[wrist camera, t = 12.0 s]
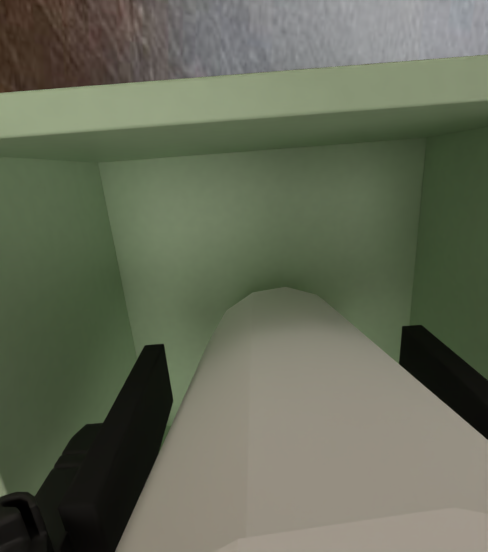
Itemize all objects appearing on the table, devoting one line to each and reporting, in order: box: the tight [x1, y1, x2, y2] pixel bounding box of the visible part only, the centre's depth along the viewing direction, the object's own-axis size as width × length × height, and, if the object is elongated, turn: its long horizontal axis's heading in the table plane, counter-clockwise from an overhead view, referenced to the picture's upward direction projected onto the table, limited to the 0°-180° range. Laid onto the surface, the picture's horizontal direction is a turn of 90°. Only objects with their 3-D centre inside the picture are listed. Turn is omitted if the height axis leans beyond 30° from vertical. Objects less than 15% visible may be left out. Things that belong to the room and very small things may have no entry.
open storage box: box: [0, 55, 488, 497], centre depth 15 cm, size 19×19×12 cm
